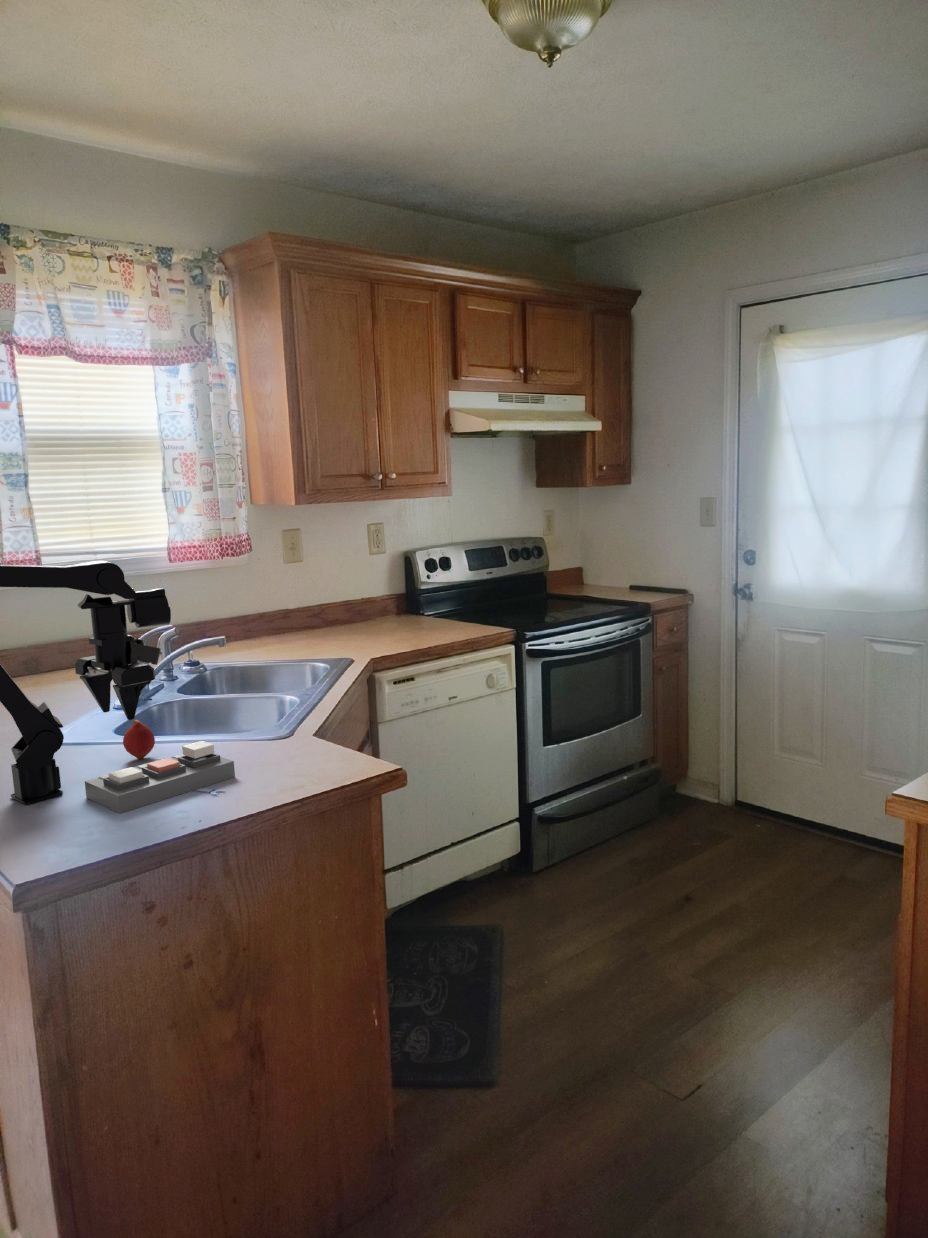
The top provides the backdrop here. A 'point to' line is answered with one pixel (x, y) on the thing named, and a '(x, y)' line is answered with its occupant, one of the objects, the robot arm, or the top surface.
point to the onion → (138, 740)
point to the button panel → (159, 782)
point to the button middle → (163, 765)
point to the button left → (125, 775)
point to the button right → (198, 749)
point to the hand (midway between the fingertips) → (118, 715)
